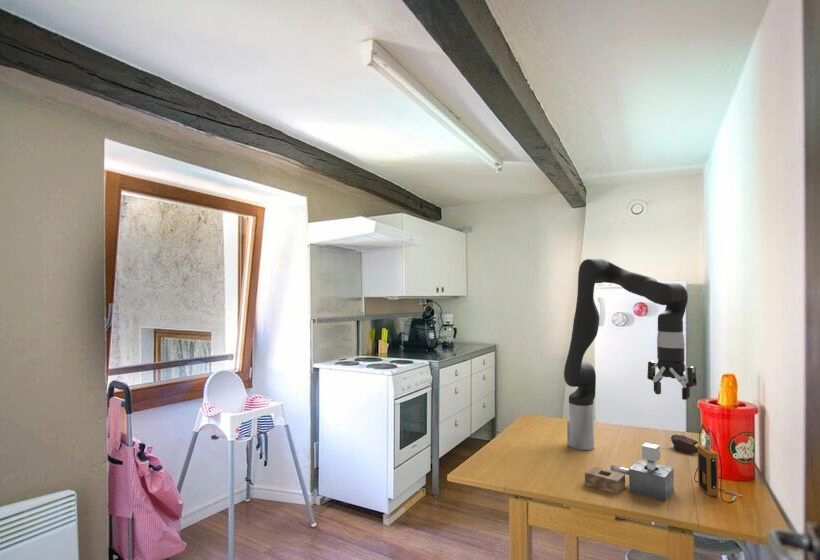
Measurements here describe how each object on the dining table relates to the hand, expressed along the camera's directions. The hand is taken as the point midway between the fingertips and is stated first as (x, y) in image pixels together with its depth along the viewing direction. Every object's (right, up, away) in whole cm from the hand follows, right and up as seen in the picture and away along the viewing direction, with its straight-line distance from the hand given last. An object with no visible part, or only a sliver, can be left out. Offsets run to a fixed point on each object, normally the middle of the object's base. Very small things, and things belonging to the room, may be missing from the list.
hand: (671, 396), depth 144 cm
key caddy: (-21, -29, 0) cm, 35 cm away
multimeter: (+12, -28, -5) cm, 31 cm away
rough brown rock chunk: (+23, -29, +31) cm, 48 cm away
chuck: (-11, -28, -1) cm, 30 cm away
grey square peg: (-8, -26, -4) cm, 28 cm away
